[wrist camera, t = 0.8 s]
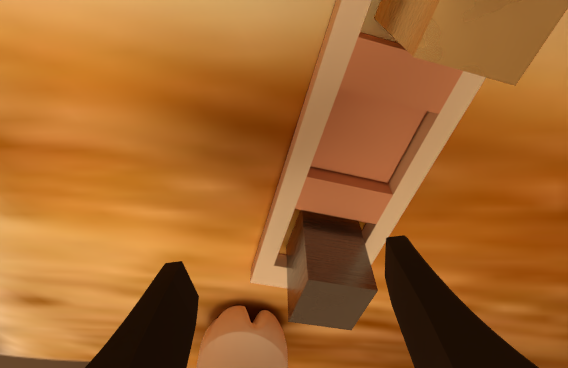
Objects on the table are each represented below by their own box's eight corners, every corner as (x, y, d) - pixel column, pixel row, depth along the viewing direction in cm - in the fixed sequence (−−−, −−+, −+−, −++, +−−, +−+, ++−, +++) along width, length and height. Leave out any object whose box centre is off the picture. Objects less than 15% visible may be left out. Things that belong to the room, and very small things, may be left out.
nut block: (357, 217, 24) (377, 290, 19) (337, 256, 26) (351, 330, 22) (301, 206, 24) (308, 279, 19) (286, 247, 26) (288, 321, 21)
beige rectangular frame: (591, -130, 14) (614, -134, 13) (348, 285, 28) (350, 298, 28) (401, -208, 12) (412, -219, 11) (251, 269, 27) (250, 282, 26)
